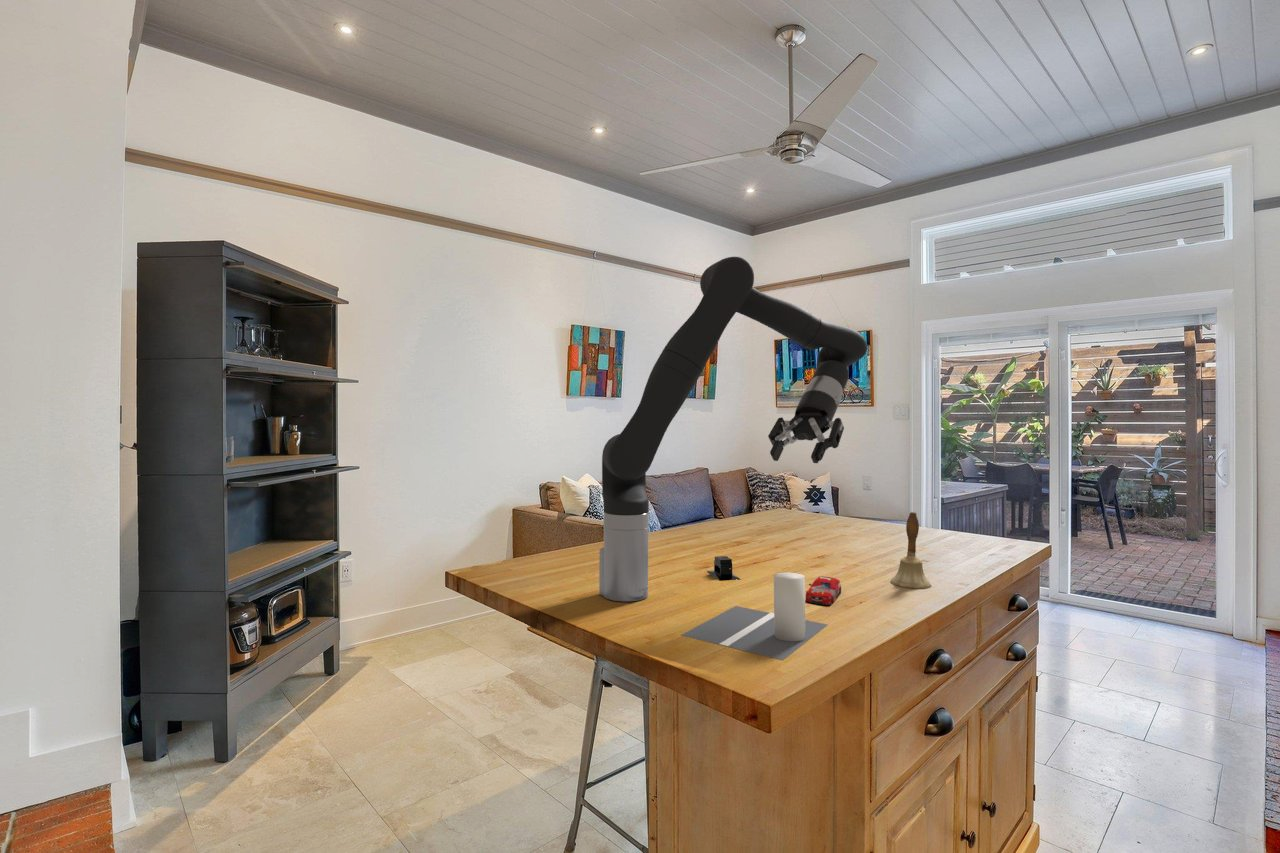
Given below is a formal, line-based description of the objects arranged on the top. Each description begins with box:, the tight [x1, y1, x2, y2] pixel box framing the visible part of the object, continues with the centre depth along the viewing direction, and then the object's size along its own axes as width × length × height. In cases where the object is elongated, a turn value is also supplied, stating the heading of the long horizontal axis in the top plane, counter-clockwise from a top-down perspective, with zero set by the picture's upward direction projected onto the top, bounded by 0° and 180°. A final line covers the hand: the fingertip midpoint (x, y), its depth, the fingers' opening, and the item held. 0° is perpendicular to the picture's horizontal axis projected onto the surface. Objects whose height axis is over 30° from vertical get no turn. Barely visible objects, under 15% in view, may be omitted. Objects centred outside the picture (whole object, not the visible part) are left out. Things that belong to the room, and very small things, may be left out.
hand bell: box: [890, 511, 932, 590], centre depth 139 cm, size 8×8×16 cm
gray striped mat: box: [681, 605, 829, 661], centre depth 107 cm, size 18×20×1 cm
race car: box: [805, 576, 842, 606], centre depth 128 cm, size 13×5×4 cm, turn 150°
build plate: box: [706, 555, 742, 582], centre depth 146 cm, size 12×7×5 cm, turn 14°
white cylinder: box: [773, 572, 806, 642], centre depth 103 cm, size 5×5×10 cm
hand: (793, 459), depth 122 cm, fingers open, 8 cm apart
